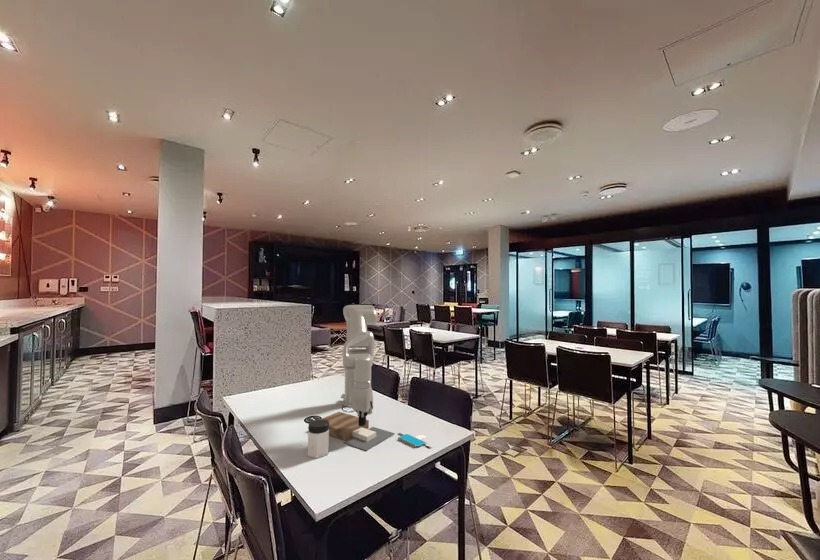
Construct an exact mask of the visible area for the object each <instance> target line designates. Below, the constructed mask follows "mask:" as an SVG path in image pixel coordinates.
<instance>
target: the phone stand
mask: <svg viewBox="0 0 820 560" xmlns="http://www.w3.org/2000/svg"><path fill="white" fill-rule="evenodd" d="M397 435H399V436H398V438H397V440H398V441H400V442H402V443H403V444H404V443H405V444H406V445H408V446H410V447H413V448H419V447H424V446H425V448H427V447H426V445H427V444H426V443H427V442H426V441H424V440H425V439H426V437H427V436H426V435H424V434H419V435H417V436H413V435H411V434H408V433H405V434H403V433H401V432H399V433H397Z"/></svg>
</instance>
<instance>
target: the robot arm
mask: <svg viewBox="0 0 820 560" xmlns="http://www.w3.org/2000/svg"><path fill="white" fill-rule="evenodd" d="M342 312H343V317H344V319H345V322H346V341H345V342H344V344H343V347H342V367H343V369H344V393H342V394H341V395H340V399H342V401H341V405H342V406H344V407H347V408H351V409H352V410H353V411H355V412H356V414H357V417H359V426H364V425H366V419H367V416H368V415H372V414H373V409H374V395H373V394H374V392H373V388H372V366H373V365H374V356H375V353H374V352H375V336H374V333H373V332H372V331H370V330H368V326H369V325H370V326H371V325H376V324H377V322H378V317H379V316H378V312H377V310H376V308H375V306H374V305H372V304H348V305H345V306H344V307H343V309H342Z"/></svg>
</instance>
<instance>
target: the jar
mask: <svg viewBox="0 0 820 560" xmlns="http://www.w3.org/2000/svg"><path fill="white" fill-rule="evenodd" d="M319 419H320V420H319ZM319 419H315V420H312V421H310V422H309V423H308V427H307V429H308V433H307V457H309V458H310V457H311V458H315V459H319V458H323V457H324V456H328V455H329V450H330V435H329V421H327V420H323V419H322V418H319Z"/></svg>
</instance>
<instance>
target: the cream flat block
mask: <svg viewBox="0 0 820 560" xmlns="http://www.w3.org/2000/svg"><path fill="white" fill-rule="evenodd" d="M352 436H353V437H356V438H359V439H362V440H365V441H369V440H371V439H373V438H375V437H376V432H374V431H371V430H368V429H365V428H362V427H361V428H359V429H357V430H355V431H353V432H352Z"/></svg>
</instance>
